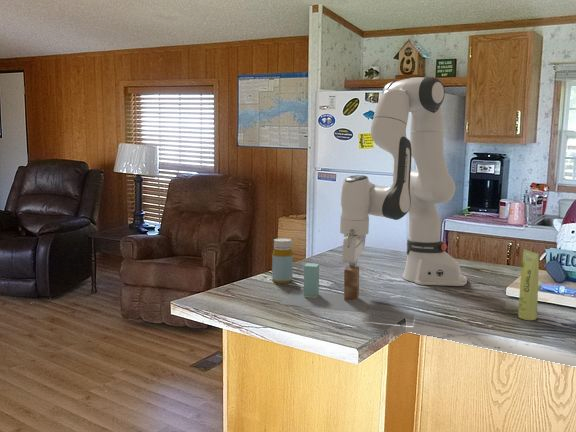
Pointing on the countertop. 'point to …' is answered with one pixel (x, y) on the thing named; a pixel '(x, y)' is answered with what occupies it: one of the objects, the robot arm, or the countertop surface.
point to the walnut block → (351, 283)
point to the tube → (529, 286)
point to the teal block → (311, 280)
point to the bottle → (282, 261)
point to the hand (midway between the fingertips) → (353, 270)
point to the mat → (327, 301)
